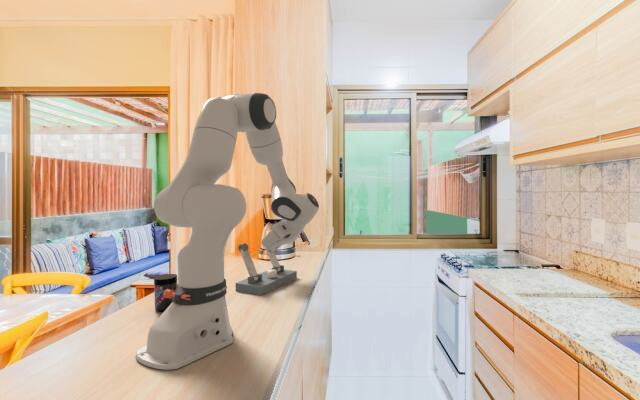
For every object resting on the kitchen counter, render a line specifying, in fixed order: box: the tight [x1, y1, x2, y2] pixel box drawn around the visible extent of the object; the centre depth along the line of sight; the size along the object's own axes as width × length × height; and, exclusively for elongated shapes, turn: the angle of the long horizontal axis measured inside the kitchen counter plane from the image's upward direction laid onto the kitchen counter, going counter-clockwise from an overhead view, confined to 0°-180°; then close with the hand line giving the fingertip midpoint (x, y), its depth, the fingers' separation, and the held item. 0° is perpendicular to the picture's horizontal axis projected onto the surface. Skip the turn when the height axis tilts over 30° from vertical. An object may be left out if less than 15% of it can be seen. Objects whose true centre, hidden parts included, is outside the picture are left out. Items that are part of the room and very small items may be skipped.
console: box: [235, 264, 298, 296], centre depth 126 cm, size 24×12×5 cm, turn 153°
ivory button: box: [267, 268, 277, 278], centre depth 125 cm, size 4×4×3 cm
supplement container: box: [153, 273, 178, 313], centre depth 101 cm, size 7×7×10 cm
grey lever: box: [237, 242, 260, 282], centre depth 120 cm, size 3×3×15 cm
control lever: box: [261, 238, 282, 272], centre depth 134 cm, size 3×3×15 cm
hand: (272, 250), depth 134 cm, fingers closed, pressing on control lever
